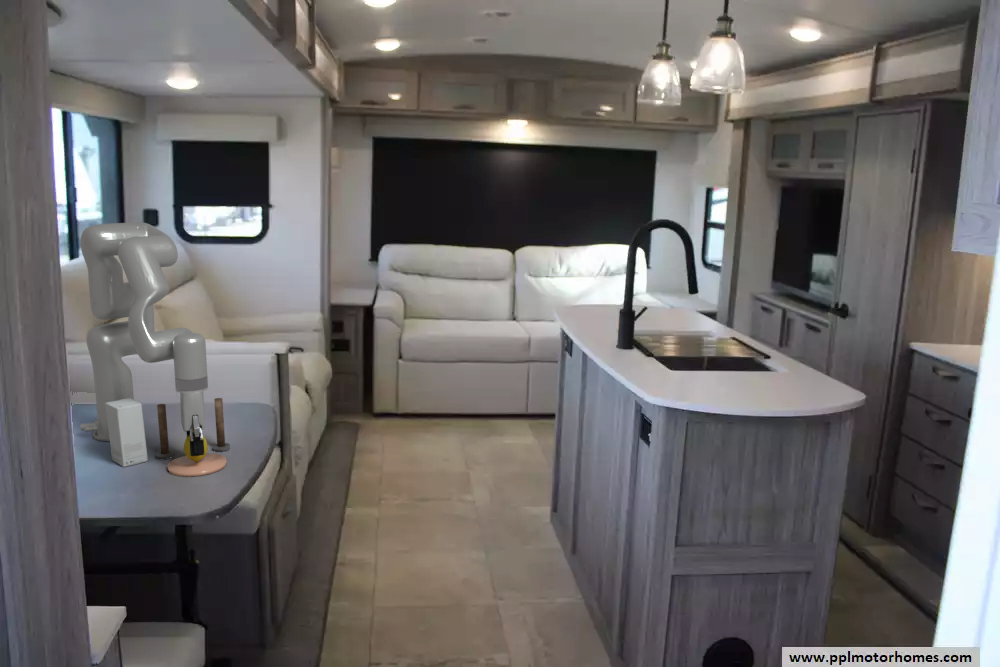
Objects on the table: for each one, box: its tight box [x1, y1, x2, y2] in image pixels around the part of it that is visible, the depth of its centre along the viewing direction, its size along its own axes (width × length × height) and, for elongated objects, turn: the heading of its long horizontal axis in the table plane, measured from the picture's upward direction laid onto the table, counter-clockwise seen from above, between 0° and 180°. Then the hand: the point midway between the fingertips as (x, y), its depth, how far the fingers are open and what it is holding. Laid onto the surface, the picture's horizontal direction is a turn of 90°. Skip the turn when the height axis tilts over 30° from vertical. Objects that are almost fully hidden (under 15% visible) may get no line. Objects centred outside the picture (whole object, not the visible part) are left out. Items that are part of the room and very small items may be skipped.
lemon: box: [183, 435, 209, 463], centre depth 206 cm, size 6×6×8 cm
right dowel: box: [212, 397, 231, 453], centre depth 219 cm, size 4×4×14 cm
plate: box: [167, 452, 228, 478], centre depth 207 cm, size 14×14×1 cm
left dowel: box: [155, 403, 175, 460], centre depth 213 cm, size 4×4×14 cm
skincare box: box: [105, 398, 149, 468], centre depth 209 cm, size 8×7×16 cm
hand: (195, 448), depth 207 cm, fingers open, 9 cm apart
